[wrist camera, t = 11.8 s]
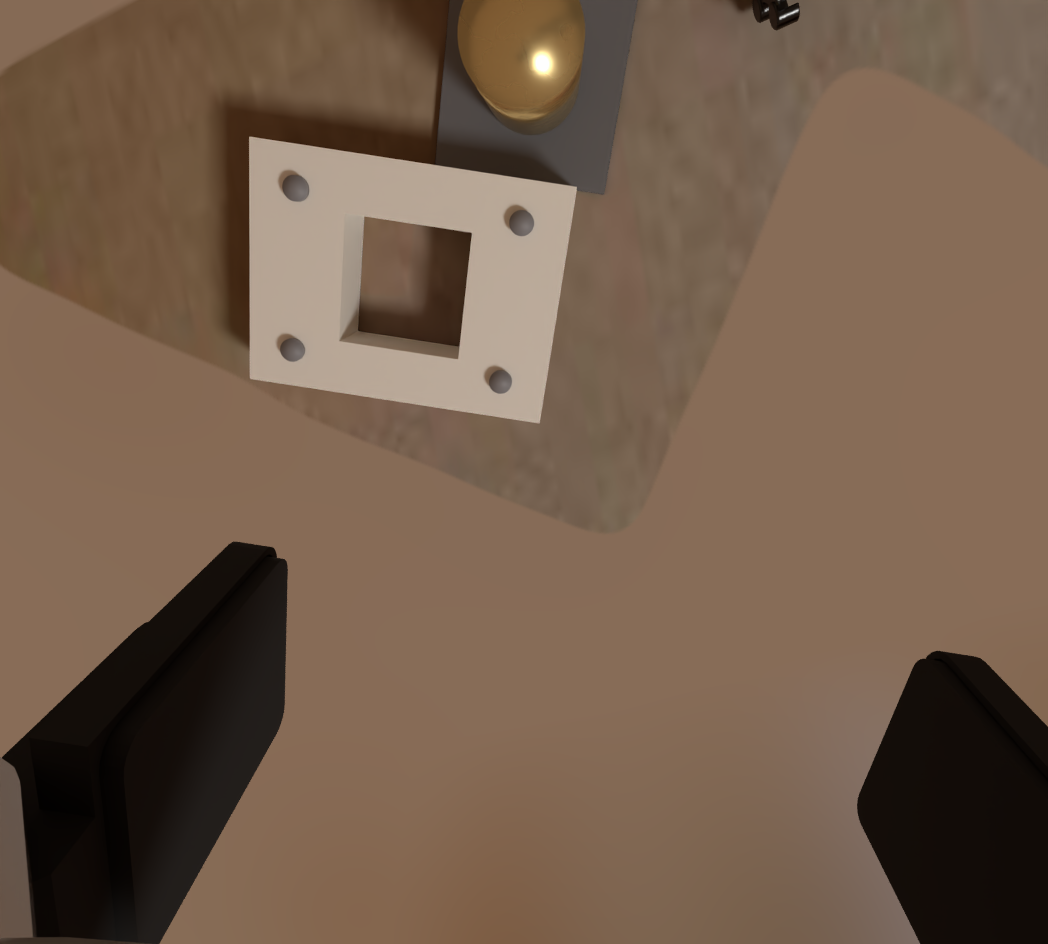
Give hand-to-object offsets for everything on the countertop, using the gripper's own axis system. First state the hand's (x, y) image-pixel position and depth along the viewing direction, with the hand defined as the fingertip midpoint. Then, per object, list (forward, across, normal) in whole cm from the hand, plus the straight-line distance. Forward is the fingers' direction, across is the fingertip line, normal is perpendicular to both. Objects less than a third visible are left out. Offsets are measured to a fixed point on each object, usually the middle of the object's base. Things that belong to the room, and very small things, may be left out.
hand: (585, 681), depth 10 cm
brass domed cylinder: (+30, +4, -13) cm, 33 cm away
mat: (+30, +4, -12) cm, 33 cm away
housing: (+30, +9, -2) cm, 32 cm away
